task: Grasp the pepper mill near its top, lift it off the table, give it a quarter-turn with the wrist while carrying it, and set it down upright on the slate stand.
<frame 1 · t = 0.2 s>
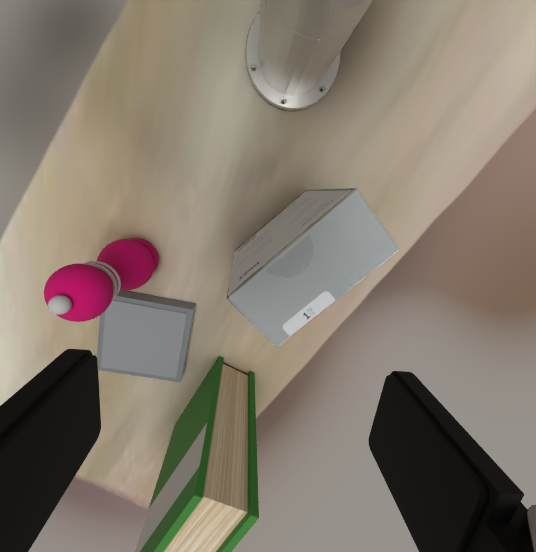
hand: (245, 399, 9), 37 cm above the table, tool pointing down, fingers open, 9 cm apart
pepper mill: (139, 257, 44), on the table
hardback book: (214, 398, 53), on the table
hard drive box: (284, 238, 45), on the table
slate stand: (148, 332, 48), on the table
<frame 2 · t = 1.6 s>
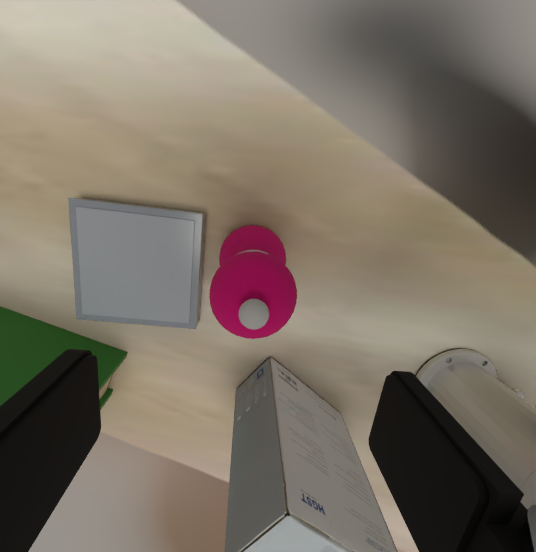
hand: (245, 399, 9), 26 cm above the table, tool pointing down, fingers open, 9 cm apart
pepper mill: (252, 251, 34), on the table
hardback book: (54, 350, 37), on the table
hard drive box: (290, 401, 41), on the table
slate stand: (145, 263, 34), on the table
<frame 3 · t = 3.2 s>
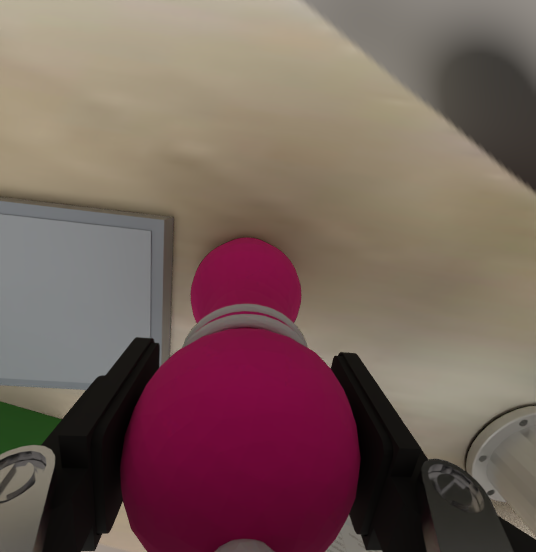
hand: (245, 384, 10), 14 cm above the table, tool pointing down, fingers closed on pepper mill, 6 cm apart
pepper mill: (247, 274, 23), on the table, touching gripper
hard drive box: (300, 476, 30), on the table
slate stand: (82, 294, 22), on the table
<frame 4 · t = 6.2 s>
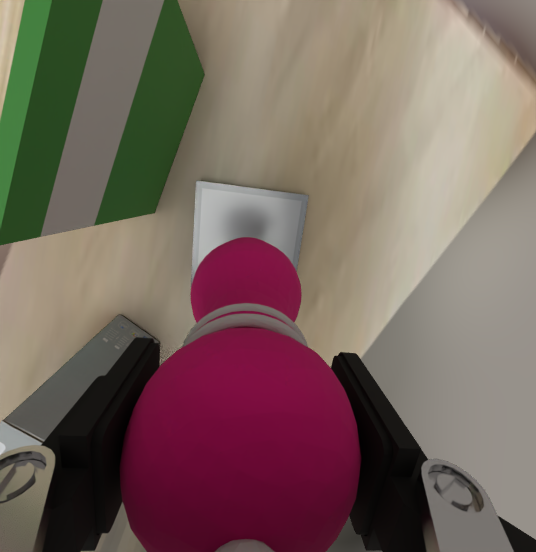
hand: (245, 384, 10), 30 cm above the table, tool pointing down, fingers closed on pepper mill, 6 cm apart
pepper mill: (247, 274, 23), point 16 cm above the table, touching gripper
hardback book: (149, 133, 34), on the table
hard drive box: (111, 360, 43), on the table
slate stand: (247, 240, 38), on the table
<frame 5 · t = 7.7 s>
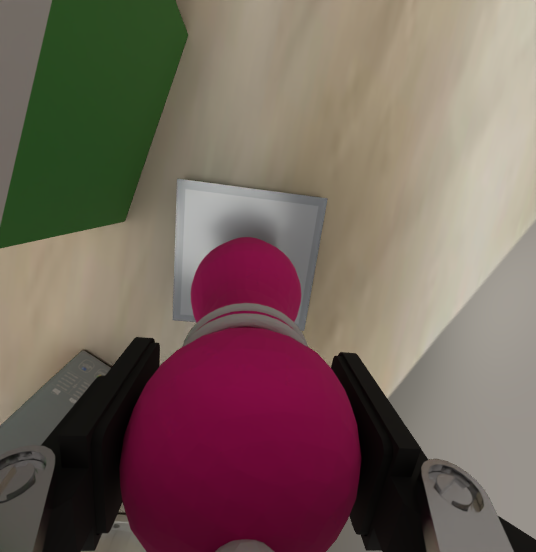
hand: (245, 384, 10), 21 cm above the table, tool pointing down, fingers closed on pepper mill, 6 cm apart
pepper mill: (247, 274, 23), point 7 cm above the table, touching gripper
hardback book: (115, 116, 25), on the table
hard drive box: (75, 405, 34), on the table
slate stand: (246, 256, 30), on the table
when the fingers open (17 cm above the table, at t = 9.0 s): pepper mill stays where it is, resting on slate stand.
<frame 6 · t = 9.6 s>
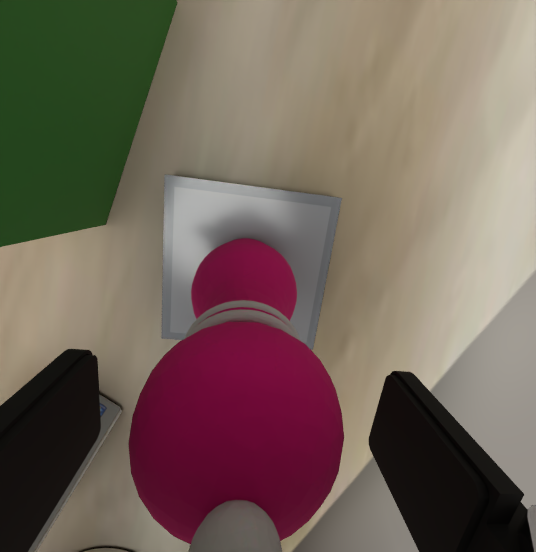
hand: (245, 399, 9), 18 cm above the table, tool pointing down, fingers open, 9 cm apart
pepper mill: (245, 273, 24), point 3 cm above the table, touching slate stand
hardback book: (92, 100, 22), on the table
hard drive box: (53, 431, 30), on the table
slate stand: (247, 264, 26), on the table
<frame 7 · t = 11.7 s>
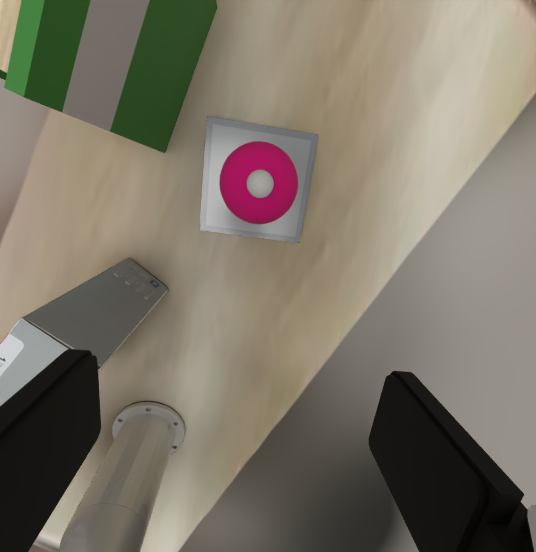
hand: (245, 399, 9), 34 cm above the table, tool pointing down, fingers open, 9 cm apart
pepper mill: (255, 185, 36), point 3 cm above the table, touching slate stand
hardback book: (161, 69, 34), on the table
hard drive box: (119, 306, 43), on the table
slate stand: (256, 184, 39), on the table
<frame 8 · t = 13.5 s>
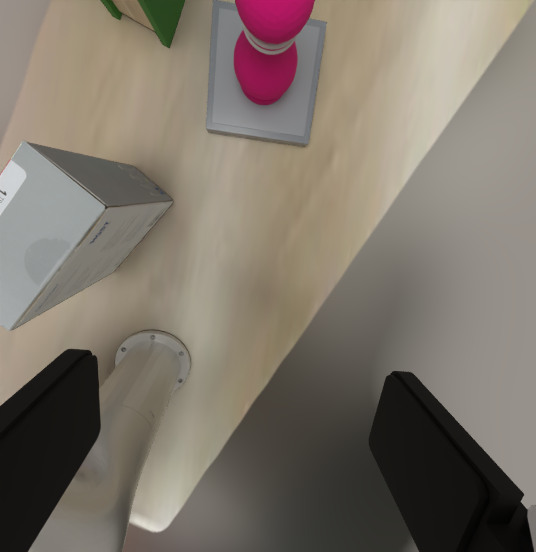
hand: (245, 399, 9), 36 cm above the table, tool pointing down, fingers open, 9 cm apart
pepper mill: (263, 78, 36), point 3 cm above the table, touching slate stand
hard drive box: (123, 221, 42), on the table
slate stand: (263, 84, 38), on the table
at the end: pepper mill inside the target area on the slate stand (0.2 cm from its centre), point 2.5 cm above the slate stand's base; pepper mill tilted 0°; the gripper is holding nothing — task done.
